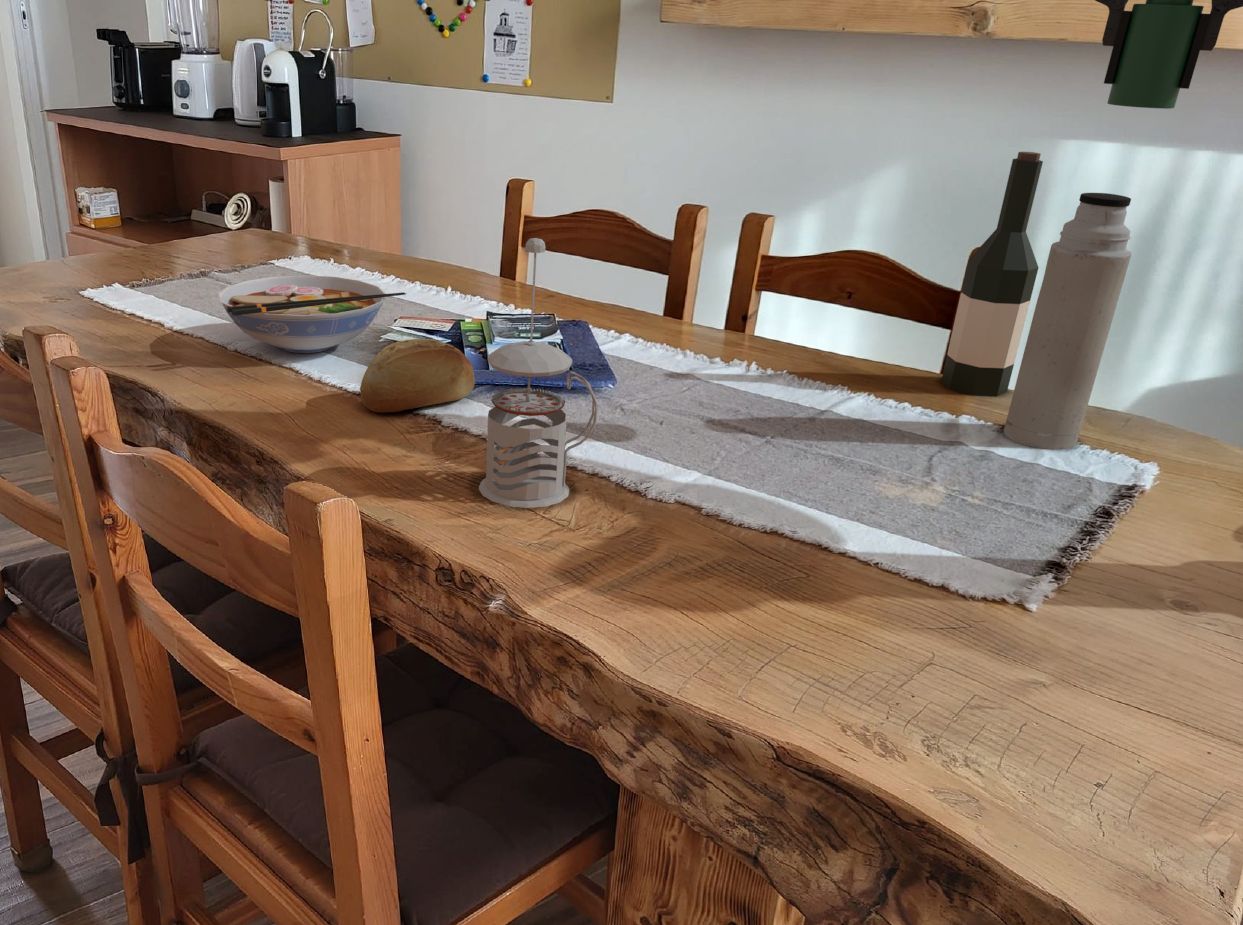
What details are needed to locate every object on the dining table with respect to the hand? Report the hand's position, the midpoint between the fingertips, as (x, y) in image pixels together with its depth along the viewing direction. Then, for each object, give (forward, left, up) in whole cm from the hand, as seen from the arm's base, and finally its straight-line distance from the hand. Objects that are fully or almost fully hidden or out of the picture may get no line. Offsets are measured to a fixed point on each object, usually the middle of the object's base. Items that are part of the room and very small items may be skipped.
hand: (1145, 84), depth 107 cm
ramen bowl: (+94, +18, -39) cm, 103 cm away
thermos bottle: (+1, -4, -39) cm, 39 cm away
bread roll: (+67, +29, -39) cm, 83 cm away
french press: (+43, +44, -39) cm, 73 cm away
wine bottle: (+11, -20, -39) cm, 45 cm away
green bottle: (0, 0, -2) cm, 2 cm away
